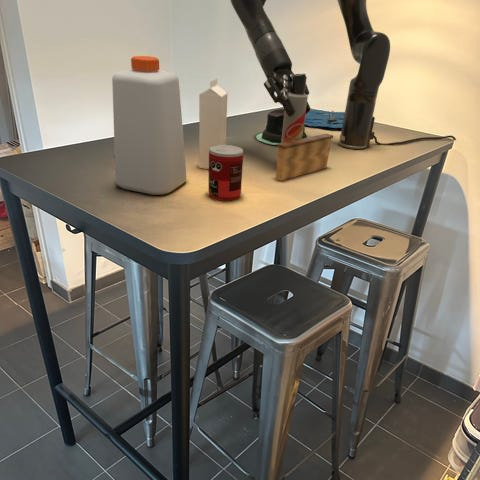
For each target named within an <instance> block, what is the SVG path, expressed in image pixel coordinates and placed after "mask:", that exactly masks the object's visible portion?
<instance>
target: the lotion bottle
mask: <svg viewBox="0 0 480 480" xmlns="http://www.w3.org/2000/svg"><path fill="white" fill-rule="evenodd" d="M294 74H295V75H292V82H291V91H290V92H289V93H288V99H290V101H291V103H292V106H293V108H294V110H295V113H294V114H293V115H292V116H290V117H289V116H288V115H287V113H286V112H284V121H283V130H282V139H281V143H284V142H289V141H294V140H298V139H302V136H303V128H304V127H305V124H304V121H305V113H306V106H307V102H308V97H309V95H307V94H304V93H305V86H306V85H307V79H308V78H307V77H308V76H306V73H294Z"/></svg>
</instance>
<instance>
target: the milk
mask: <svg viewBox="0 0 480 480" xmlns="http://www.w3.org/2000/svg"><path fill="white" fill-rule="evenodd" d="M198 99H199V101H198V103H199V104H198V105H199V107H198V108H199V110H198V114H199V115H198V116H199V117H198V119H199V121H198V125H199V126H198V131H199V132H198V133H199V135H198V136H199V137H198V148H199V149H198V168H199V169H206V170H209V148H210V147H212V146H216V145H227V124H228V123H227V121H228V119H227V118H228V117H227V116H228V92H227V91H225V90H224V89H223V88H222V87H221V86H220V85H218V78H215V79H212V80H211V81H210V83H209V88H208V89H206V90H204V91H203V92H201V93H199V96H198Z"/></svg>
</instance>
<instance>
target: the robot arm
mask: <svg viewBox="0 0 480 480" xmlns="http://www.w3.org/2000/svg"><path fill="white" fill-rule="evenodd" d="M336 1H337V4H338V8H339V10H340V13H341V16H342V18H343V21H344V25H345V29H346V33H347V39H348V44H349V49H350V53H351V56H352V58H353V60H354V61H355V62H356V63H357V64H359V67H358V70H357V74H356V75H355V77H352V78H351V79H350V81H349V85H348V92H347V98H346V103H345V110H344V112H345V114H344V120H343V123H342V124H343V125H342V128H341V131H340V134H339V142H338V145H339V146H341V147H343V148H347V149H352V150H363V149H366V148H370V145H371V144H370V143H371V140H372V141H373V140H374V143H375V144H376V145H379V146H395V145H403V144H406V143H407V144H408V143H411V142H416V141H422V140H444V139H448V138H450V139H453V141H457V138H456V137H455V136H454V135H445V136H444V135H443V136H424V137H417V138H413V139H408V140H403V141H395V142H388V143H382V142H379V141H378V138H377V136H376V135H375V131H373V130H374V124H375V119H376V117H375V116H374V112H375V108H376V102H377V98H378V95H379V94H378V93H379V89H380V87H381V84H382V83H383V80H384V78H385V74H386V70H387V67H388V63H389V62H388V61H389V58H390V53H391V41H390V38H389V36H388V35H387V34H386V33H384V32H380V31H375V30H374V28H373V26H372V23H371V21H370V17H369V15H368V9H367V0H336ZM229 2H230V3H231V6H232V8H233V10H234V12H235V14H236V15H237V17H238V19H239V20H240V22H241V24H242V26H243V28H244V30H245V33H246V36H247V38H248V40H249V43H250V45H251V47H252V49H253V51H254V53H255V56H256V59H257V61H258V63H259V65H260V67H261V69H262V71H263V74H264V76H265V78H266V80H265V81H264V82H263V86H264V88H265V89H266V91H267V93H268V95H269V96H270V98H271V100H272V101H273V102H274V103H275V104H277V103H279V104H280V105H281V106H282V107H283V108H282V109H285V112H286V113H287V115H288V116H289V117H290V116H292V115H293V114H294V113H295V110H294V108H293V106H292V103H291V101H290V99H288V93H289V92H290V91H291V82H292V75H295V74H296V73H294V72H293V70H292V68H293V62H292V60H291V58H290V56H289V53H288V52H287V50H286V48H285V45H284V43H283V42H282V39H281V38H280V37H279V35H278V33H277V31H276V29H275V27H274V25H273V23H272V21H271V20H270V18H269V16H268V15H267V12H266V11H265V9H264V6H265V4H266V2H267V0H230V1H229ZM304 94H307V95H308V96H309V95H310V91H309V88H308V85H307V84H306V86H305V93H304ZM309 111H311V106H310V104H309V102H308V101H307V106H306V113H305V114H307V113H308V112H309Z"/></svg>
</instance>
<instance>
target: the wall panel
mask: <svg viewBox="0 0 480 480" xmlns="http://www.w3.org/2000/svg"><path fill="white" fill-rule="evenodd" d="M307 137H308V138H303V139H298V140H294V141H289V142H284V143H279V144H277V145H276V147H277V148H278V151H277V161H276V169H275V170H276V172H275V180H278V181H280V182H282V181H285V180H290V179H293V178H296V177H299V176H303V175H306V174H310V173H314V172H317V171H321V170H324V169H327V167H328V163H329V162H328V161H329V154H330V149H331V143H332V139H334V135H332V134H329V133H323V134H318V135H317V134H316V135H313V136H307Z"/></svg>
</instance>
